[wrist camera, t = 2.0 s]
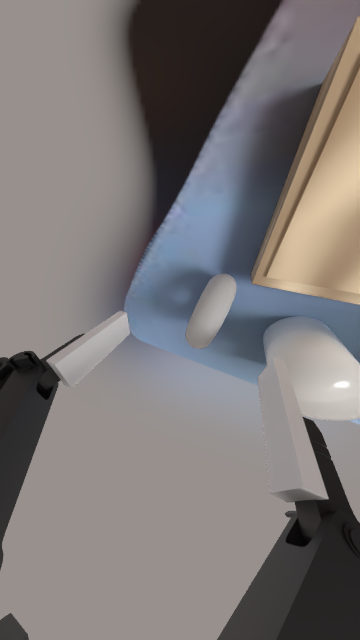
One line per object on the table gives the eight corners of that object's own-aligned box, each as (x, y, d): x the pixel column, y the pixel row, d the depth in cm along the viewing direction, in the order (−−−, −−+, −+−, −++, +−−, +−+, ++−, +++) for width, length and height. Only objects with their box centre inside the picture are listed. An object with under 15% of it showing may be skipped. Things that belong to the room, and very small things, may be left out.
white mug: (348, 325, 17) (419, 392, 10) (298, 375, 23) (321, 437, 16) (277, 309, 19) (296, 355, 12) (248, 359, 25) (250, 408, 18)
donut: (219, 261, 19) (201, 284, 11) (243, 270, 18) (242, 301, 10) (195, 316, 25) (173, 356, 17) (213, 325, 24) (199, 369, 17)
